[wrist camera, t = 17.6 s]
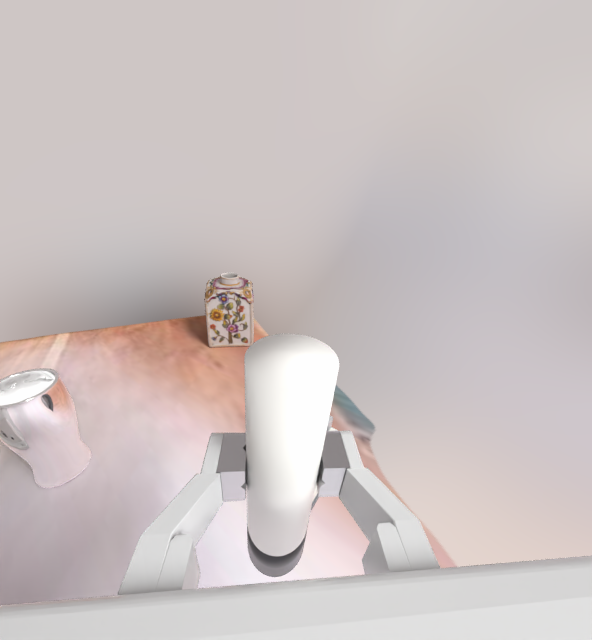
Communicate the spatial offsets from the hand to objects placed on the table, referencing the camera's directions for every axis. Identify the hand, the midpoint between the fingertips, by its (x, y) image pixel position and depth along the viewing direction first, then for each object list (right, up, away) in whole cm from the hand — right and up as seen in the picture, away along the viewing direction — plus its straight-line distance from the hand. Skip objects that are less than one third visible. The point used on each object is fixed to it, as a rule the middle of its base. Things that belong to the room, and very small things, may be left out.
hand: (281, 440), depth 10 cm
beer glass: (-33, -16, +25) cm, 44 cm away
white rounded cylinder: (0, -6, +2) cm, 6 cm away
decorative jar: (-18, 0, +59) cm, 62 cm away
